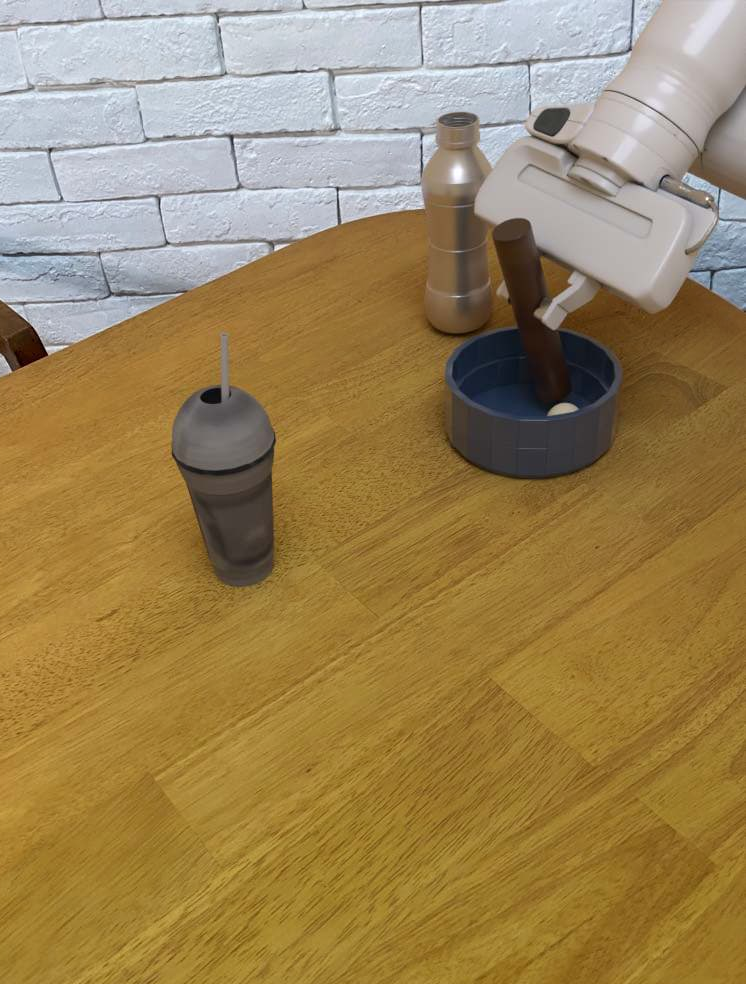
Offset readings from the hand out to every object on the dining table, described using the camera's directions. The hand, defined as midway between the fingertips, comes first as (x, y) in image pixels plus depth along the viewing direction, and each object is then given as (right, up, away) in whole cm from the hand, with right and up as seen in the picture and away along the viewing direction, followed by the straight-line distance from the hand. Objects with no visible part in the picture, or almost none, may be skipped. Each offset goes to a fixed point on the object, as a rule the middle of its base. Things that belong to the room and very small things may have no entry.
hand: (523, 312), depth 90 cm
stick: (+3, -5, +6) cm, 9 cm away
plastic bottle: (-3, +3, +20) cm, 21 cm away
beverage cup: (-22, -20, -4) cm, 30 cm away
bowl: (+1, -9, +6) cm, 11 cm away
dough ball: (+4, -8, +3) cm, 10 cm away
